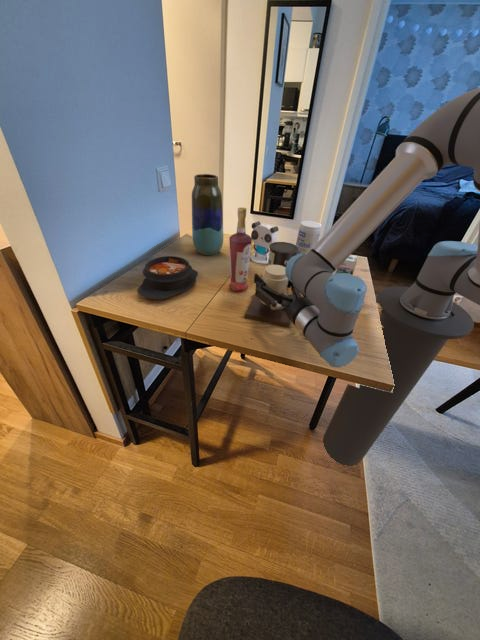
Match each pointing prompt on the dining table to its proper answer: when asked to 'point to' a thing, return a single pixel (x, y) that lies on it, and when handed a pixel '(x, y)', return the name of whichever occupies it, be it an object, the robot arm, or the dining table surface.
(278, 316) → the serving board
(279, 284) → the jar
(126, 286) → the dining table surface
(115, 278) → the dining table surface
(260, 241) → the panda figurine
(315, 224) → the supplement tub
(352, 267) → the syrup box
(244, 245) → the liquor
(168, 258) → the casserole
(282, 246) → the coffee can
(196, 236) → the vase
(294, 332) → the dining table surface
